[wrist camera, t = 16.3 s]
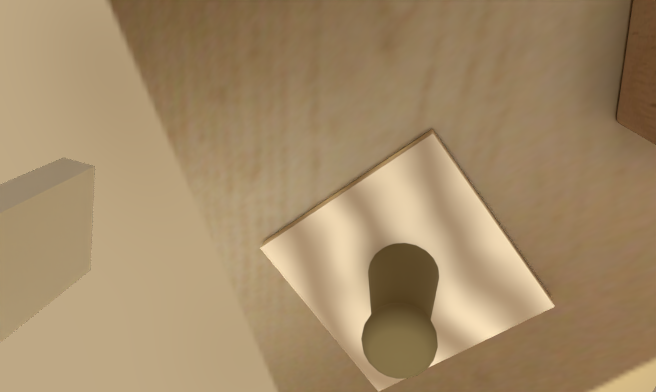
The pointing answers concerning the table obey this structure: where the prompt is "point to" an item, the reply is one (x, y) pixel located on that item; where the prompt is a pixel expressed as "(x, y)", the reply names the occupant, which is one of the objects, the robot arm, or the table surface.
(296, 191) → the table surface
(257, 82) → the table surface
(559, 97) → the table surface
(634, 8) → the wooden block
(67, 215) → the robot arm
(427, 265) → the olive pawn
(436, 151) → the birch board
